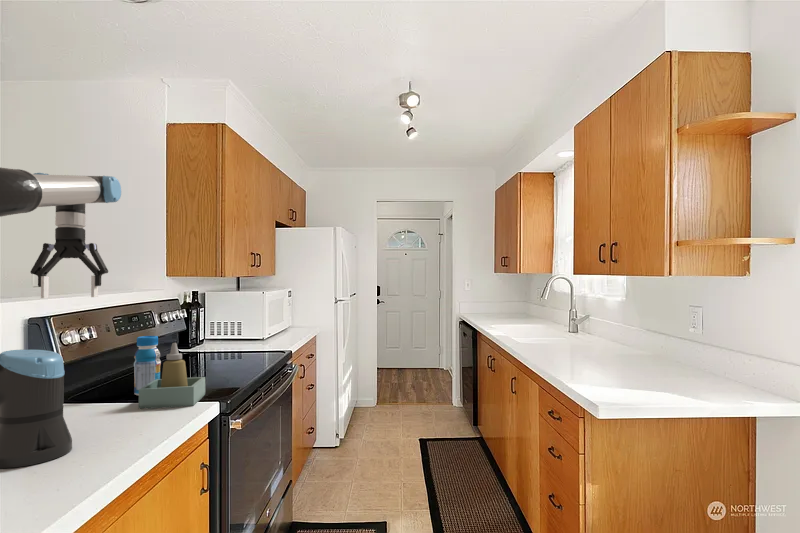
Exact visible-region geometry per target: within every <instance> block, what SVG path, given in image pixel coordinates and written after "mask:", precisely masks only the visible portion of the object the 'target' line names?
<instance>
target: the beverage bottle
mask: <svg viewBox="0 0 800 533" xmlns="http://www.w3.org/2000/svg"><path fill="white" fill-rule="evenodd" d="M158 345H159V336H158V335H143V336H138V337H136V346H137V347H138V348H137V350H136V351H135V354H134V356H133V358H134V362H133V367H134V368H133V369H134V370H133V371H134V375H133V376H134V379H133V380H134V383H133V384H134V385H133V386H134V388H133V393H134V394H133V395H136V396H139V389H140V388H142V387H144V386H145V385H147V384H149V383H151V382H152V381H154V380H156V379H161V364H162V361H161V359H160V357H161V352H160V350H159V349H158V348H157V346H158Z"/></svg>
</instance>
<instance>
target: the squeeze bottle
mask: <svg viewBox="0 0 800 533" xmlns="http://www.w3.org/2000/svg"><path fill="white" fill-rule="evenodd" d="M162 365H163V366H162V372H161V379H162V381H161V388H165V387H184V386H188V383H187V378H188V375H187V366H186V361H185V359H183V353H181V352H180V353H179V348H178V344H177V342H172V344H171V347H170V352H169V354H168V353H167V354H166V360H165V361H164V362H163V364H162Z"/></svg>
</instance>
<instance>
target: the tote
mask: <svg viewBox="0 0 800 533" xmlns="http://www.w3.org/2000/svg"><path fill="white" fill-rule="evenodd" d="M161 381H162V378H160V379H156V380H154V381H152V382H151V383H149V384H147V385H145V386H144V387H142V388H140V389H139V395H138V409H139V408H148V409H160V408H162V407H166V408H181V406H183V407H194V406H196V404H198V403H199V401H200V400H202V398H203V397H205V395H206V377H205V376H201V377H200V376H197V377H187V383H188V386H184V387H165V388H161ZM162 409H163V408H162Z"/></svg>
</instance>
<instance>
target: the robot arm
mask: <svg viewBox="0 0 800 533" xmlns="http://www.w3.org/2000/svg"><path fill="white" fill-rule="evenodd" d="M121 197H122V186H121V183H120V181H119V179H118V178H117V177H115V176H109V175H76V174H75V175H73V174H71V175H69V174H67V175H66V174H64V175H63V174H49V173H44V172H35V173H31V172H29V171H27V170H23V169H19V168H17V169H16V168H9V167H8V168H7V167H0V218H2V217H6V216H11V215H19V214H25V213H26V214H27V213H31V212H33V211H35V210H36V209H38V208H46V207H55V217H54V218H55V221H54V224H55V225H54V226H55V227H56V228H55V230H54V231H55V232H54V238H55V241H54V242H55V243H54V244H53V243H52V244H51V243H46V242H44V243H43V244H42V250H41V252H40V254H39V255H38V258H36V261H35V262H34V264H33V267H32V268H31V270H30V274H32V275H35V276H37V286H38V288H40V299H49V298H50V277H49V276H48V274H49V272H51V271H52V269H53V268H54V267H55V266H56V265H57V264H58V263H59V262H60V261H61V260H63V259H79V260H80V261H81V262H82V263H83V264H84V266H86V268H88V269H89V271H91V273H92V274H93V275H91V277H90V278H91V280H90V281H91V282H90V284H91V285H90V286H91V288H90V291H91V292H90V297H91V298H99V287H101V286H102V276H103V275H105V274H108V273H109V269H108V268H107V266H106V264H105V262H104V260H103V258H102V256H101V255H100V253H99V250H98V245H97V243H93V242H89V243H87V244H86V229H85V227H86V204H96V203H97V204H99V203H102V204H104V203H105V204H109V203H116V202H117V203H118V202H119V201H120V199H121ZM86 249H87V251H89V253H90V255H91V256H92V259H93V260H94V262H95V263H93V261H92V260H91V259H90V258H89V257H88V255H87V254H86V253H85V251H86ZM54 250H55V253H54V254H53V255H52V257H51V258H50V259H49V257H50V255H51V253H52V252H53V251H54ZM48 259H49V260H48ZM47 261H48V262H47ZM65 372H66V371H65V366H64V359H63V356H62V355H61V354H60V353H58V352H55V351H52V350H46V349H10V350H6V351H2V352H0V469H10V468H11V469H12V468H20V467H27V466H32V465H36V464H37V465H38V464H40V463H45V462H49V461H53V460H55V459H58V458H60V457H63V456H65V455H67V454H68V453H70V452H71V451H72V450H73V438H72V435H71V433H70V430H69V428H68V425H67V422H66V420H65V417H64V396H65V395H64V392H65V391H64V390H65V384H64V383H65Z"/></svg>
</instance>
